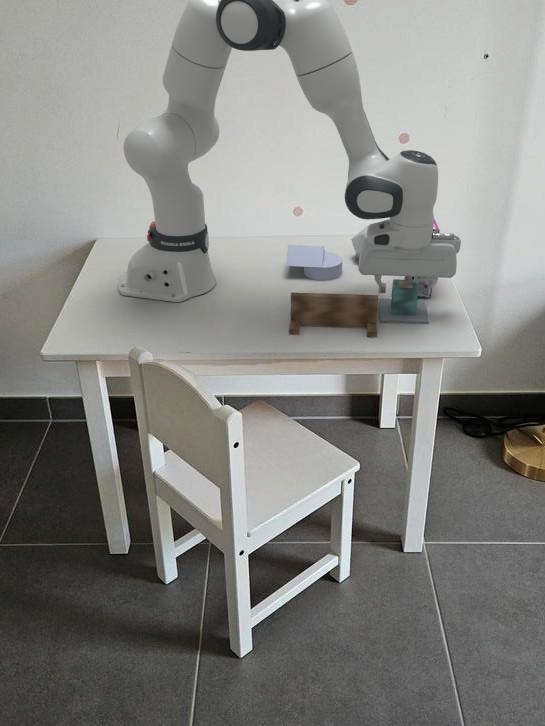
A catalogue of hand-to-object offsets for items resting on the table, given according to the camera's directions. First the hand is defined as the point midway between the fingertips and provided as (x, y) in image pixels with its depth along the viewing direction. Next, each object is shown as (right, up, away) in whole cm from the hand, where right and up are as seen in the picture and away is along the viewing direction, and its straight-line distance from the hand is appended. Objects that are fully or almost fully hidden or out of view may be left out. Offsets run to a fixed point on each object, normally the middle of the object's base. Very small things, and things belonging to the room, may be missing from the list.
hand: (404, 293), depth 157 cm
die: (-4, +11, +26) cm, 28 cm away
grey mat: (0, -4, +2) cm, 4 cm away
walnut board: (-15, -8, -4) cm, 18 cm away
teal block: (0, -3, +2) cm, 4 cm away
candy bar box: (+5, +2, +12) cm, 13 cm away
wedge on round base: (-18, +7, +20) cm, 28 cm away
